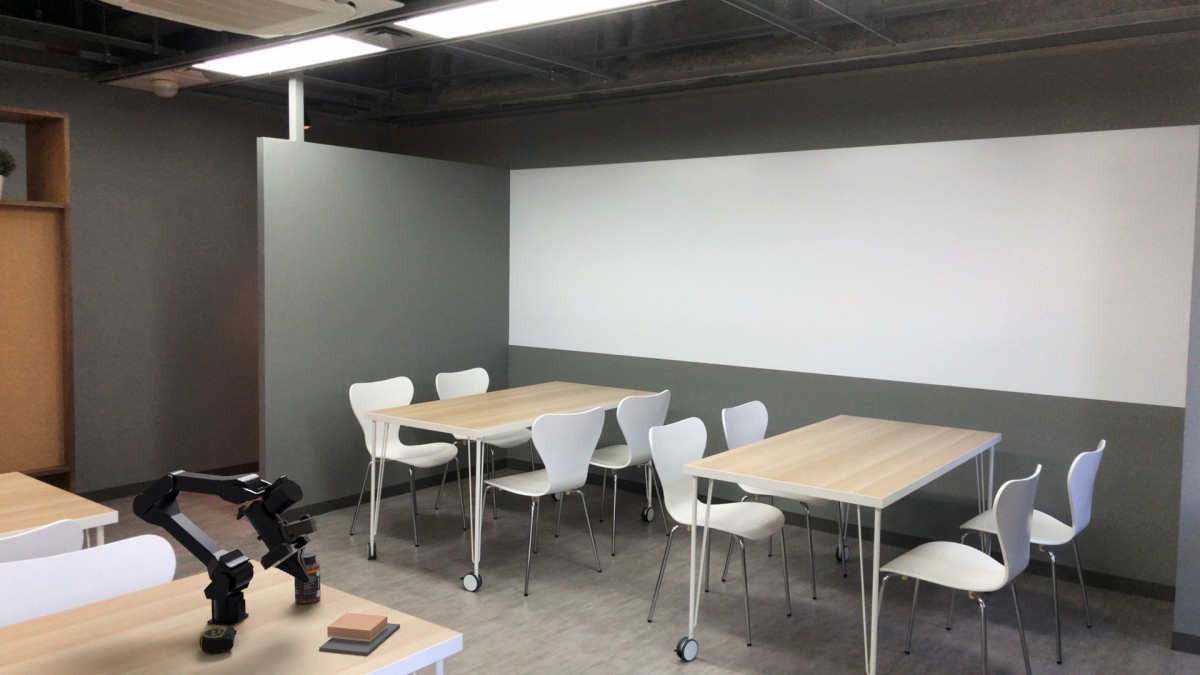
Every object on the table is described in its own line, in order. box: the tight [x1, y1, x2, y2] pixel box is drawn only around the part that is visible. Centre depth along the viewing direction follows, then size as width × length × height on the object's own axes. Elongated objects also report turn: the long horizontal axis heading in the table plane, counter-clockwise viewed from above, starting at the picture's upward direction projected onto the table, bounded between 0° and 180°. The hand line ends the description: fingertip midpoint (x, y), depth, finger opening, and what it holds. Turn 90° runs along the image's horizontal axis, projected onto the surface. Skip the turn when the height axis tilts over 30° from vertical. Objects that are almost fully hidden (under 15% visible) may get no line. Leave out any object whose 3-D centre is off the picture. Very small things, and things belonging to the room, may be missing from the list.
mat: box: [318, 622, 401, 656], centre depth 184 cm, size 11×15×1 cm
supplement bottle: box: [293, 551, 322, 605], centre depth 205 cm, size 6×6×11 cm
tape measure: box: [199, 626, 238, 654], centre depth 178 cm, size 7×7×4 cm
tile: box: [326, 612, 388, 642], centre depth 185 cm, size 2×8×10 cm
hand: (308, 581), depth 189 cm, fingers closed
